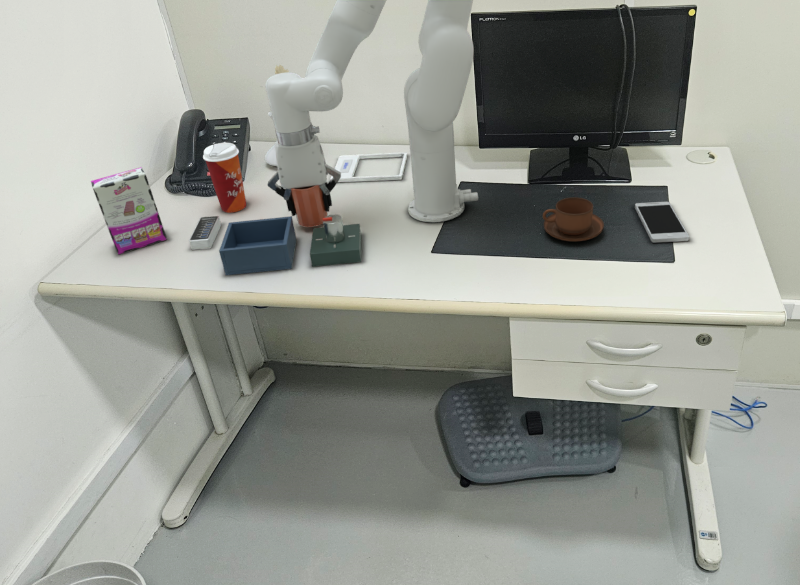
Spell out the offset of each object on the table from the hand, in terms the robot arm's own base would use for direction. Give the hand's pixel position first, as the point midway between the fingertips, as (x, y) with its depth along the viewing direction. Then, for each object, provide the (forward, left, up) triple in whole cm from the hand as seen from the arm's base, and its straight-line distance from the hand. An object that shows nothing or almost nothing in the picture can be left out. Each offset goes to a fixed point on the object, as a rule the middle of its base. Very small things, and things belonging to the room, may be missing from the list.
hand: (311, 210), depth 157 cm
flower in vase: (+9, -39, -4) cm, 40 cm away
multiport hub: (+24, 0, -4) cm, 25 cm away
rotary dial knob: (-6, +12, -1) cm, 13 cm away
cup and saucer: (-55, +14, -4) cm, 57 cm away
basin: (+10, +12, -4) cm, 16 cm away
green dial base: (-6, +12, -4) cm, 14 cm away
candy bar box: (+39, 0, -4) cm, 39 cm away
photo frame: (-13, -28, -4) cm, 31 cm away
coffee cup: (+20, -14, -4) cm, 25 cm away
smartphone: (-73, +14, -4) cm, 74 cm away
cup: (0, 0, -2) cm, 2 cm away
